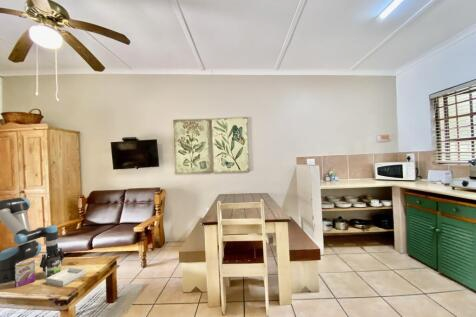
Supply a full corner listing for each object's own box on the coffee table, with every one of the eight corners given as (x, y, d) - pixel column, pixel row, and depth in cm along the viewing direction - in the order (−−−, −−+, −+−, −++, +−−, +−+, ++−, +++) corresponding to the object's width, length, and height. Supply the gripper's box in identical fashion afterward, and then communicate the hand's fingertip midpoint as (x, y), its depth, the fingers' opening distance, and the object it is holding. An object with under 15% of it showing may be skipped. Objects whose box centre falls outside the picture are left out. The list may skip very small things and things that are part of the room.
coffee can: (63, 272, 191) (63, 255, 190) (51, 278, 180) (51, 261, 180) (53, 271, 193) (53, 254, 193) (41, 277, 182) (40, 260, 182)
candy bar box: (15, 287, 168) (14, 265, 168) (15, 285, 172) (14, 263, 172) (35, 282, 176) (34, 261, 176) (35, 279, 180) (34, 259, 180)
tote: (46, 283, 173) (45, 278, 173) (69, 271, 191) (69, 267, 191) (63, 286, 168) (63, 281, 168) (85, 274, 186) (85, 269, 186)
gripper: (39, 250, 174) (40, 279, 175) (69, 240, 196) (69, 265, 196) (32, 249, 177) (33, 278, 177) (62, 239, 198) (63, 264, 198)
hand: (52, 271), depth 186 cm, fingers closed on coffee can, 10 cm apart
